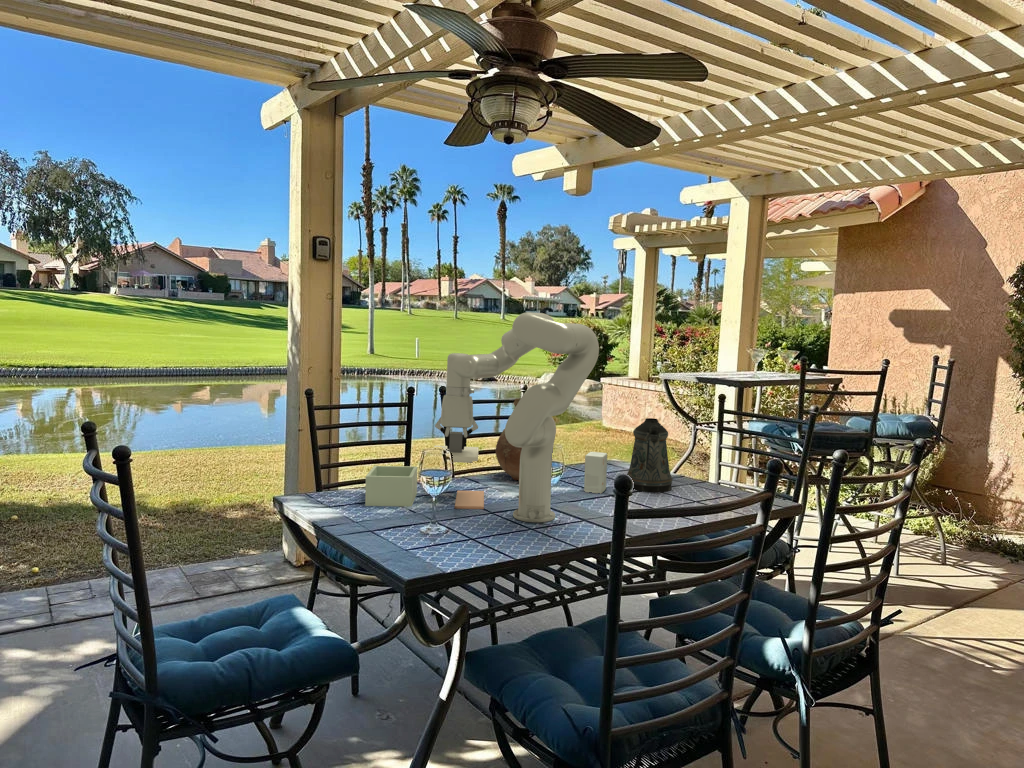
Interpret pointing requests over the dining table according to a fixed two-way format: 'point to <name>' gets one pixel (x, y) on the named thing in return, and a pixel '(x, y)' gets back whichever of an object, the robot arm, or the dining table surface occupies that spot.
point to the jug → (509, 454)
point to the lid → (456, 449)
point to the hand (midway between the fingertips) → (455, 448)
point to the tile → (469, 500)
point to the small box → (595, 472)
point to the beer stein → (650, 458)
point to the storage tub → (391, 486)
